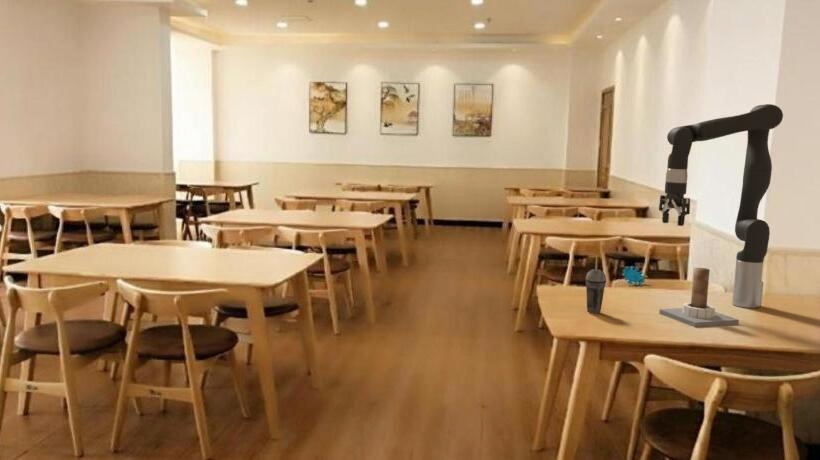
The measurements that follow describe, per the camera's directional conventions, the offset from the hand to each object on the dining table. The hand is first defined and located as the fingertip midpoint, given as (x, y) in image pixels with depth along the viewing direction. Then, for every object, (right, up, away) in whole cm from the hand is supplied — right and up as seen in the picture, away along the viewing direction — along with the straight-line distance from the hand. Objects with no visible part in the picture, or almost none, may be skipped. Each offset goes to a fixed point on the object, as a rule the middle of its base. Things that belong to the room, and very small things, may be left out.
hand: (672, 224), depth 254 cm
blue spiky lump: (-2, -26, +36) cm, 45 cm away
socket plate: (+1, -33, -19) cm, 38 cm away
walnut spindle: (+1, -31, -19) cm, 37 cm away
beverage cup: (-34, -32, -15) cm, 48 cm away
